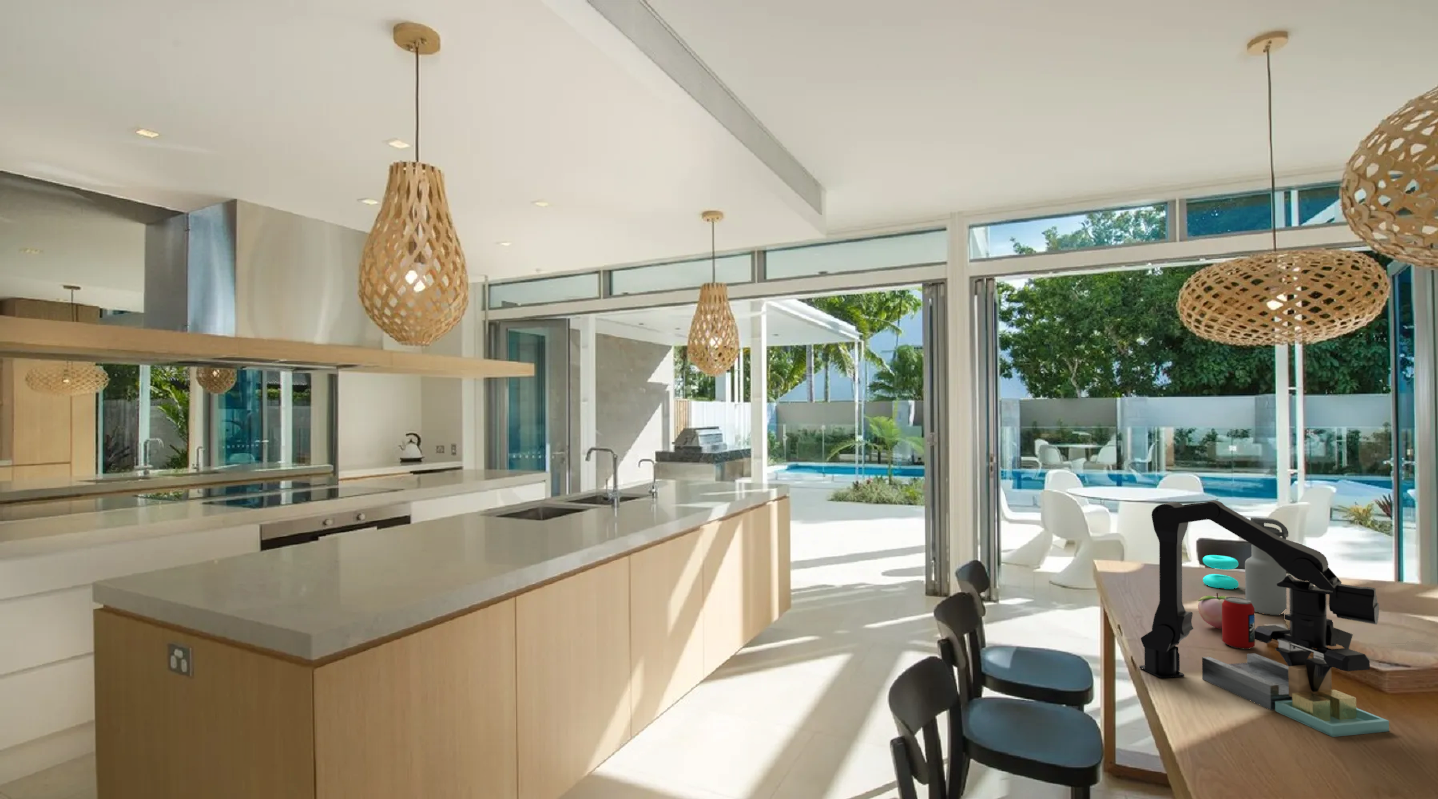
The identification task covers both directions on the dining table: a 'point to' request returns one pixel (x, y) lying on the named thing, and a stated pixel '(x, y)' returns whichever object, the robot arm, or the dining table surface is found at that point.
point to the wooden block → (1305, 680)
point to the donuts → (1218, 579)
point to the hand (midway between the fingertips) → (1308, 689)
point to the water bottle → (1265, 575)
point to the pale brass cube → (1312, 705)
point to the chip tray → (1335, 721)
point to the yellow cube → (1340, 704)
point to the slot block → (1250, 679)
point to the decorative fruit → (1211, 610)
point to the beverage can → (1238, 622)
